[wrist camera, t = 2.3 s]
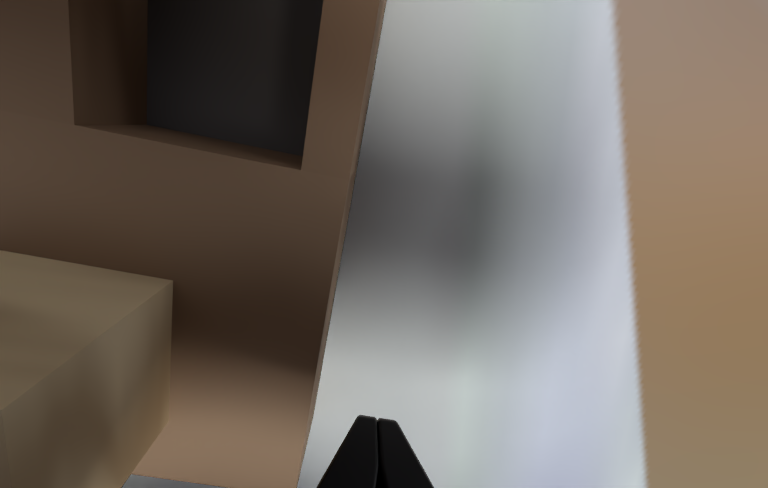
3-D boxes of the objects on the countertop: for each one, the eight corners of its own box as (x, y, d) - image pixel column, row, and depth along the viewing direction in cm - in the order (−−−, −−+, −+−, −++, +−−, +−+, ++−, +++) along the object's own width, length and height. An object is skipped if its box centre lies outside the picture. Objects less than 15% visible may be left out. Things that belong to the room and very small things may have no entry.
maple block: (168, 421, 10) (29, 616, 6) (5, 396, 9) (-253, 584, 6) (173, 280, 8) (0, 410, 5) (-14, 247, 8) (-359, 356, 4)
